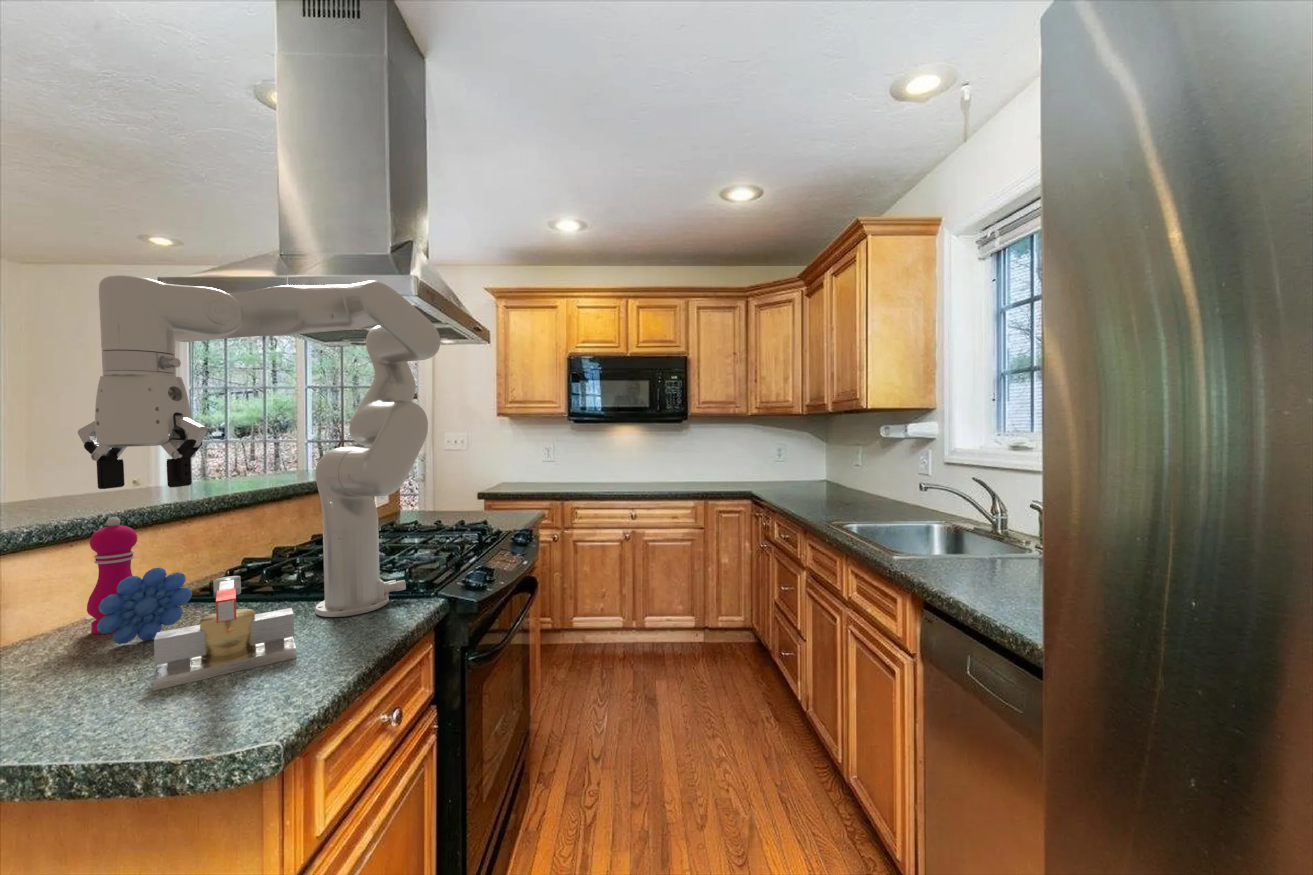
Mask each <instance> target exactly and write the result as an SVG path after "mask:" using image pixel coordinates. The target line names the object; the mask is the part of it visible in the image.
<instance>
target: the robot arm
mask: <svg viewBox="0 0 1313 875" xmlns="http://www.w3.org/2000/svg"><path fill="white" fill-rule="evenodd" d="M98 302H99V321H100V323H99V324H100V325H99V326H100V340H101V342H100V345H101V365H102V369H101V370H102V375H101V376H100V377H99V380H98V385H97V389H96V390H97V391H96V396H95V409H94V410H95V411H94V413H95V414H94V415H95V416H94V421H92V422H90V423H89V424H86V425H85V426H83V427H81V428H79V429H78V430H77V435H78V437H79V438H80V440H81V442H82V444H83V448H84V449H85V450H86V451H87V452H88V453H89V454H90V457H91V460H92V461H94V462H96V478H97V480H96V481H97V489H98V490H107V489H117V488H122V487H124V486H125V467H124V466H125V464H124V463H125V462H124V459H123V458H120V456H121V455H122V453H124V451H125V450H126V448H128V447H155V446H158V447H159V446H160V447H162V448H163V450H164V451H165V452H166V453H167V454H168V455H169V456H170V457H171V458H167V459H166V476H167V478H166V480H167V487H169V488H179V487H187V486H191V485H192V459H193V458H195V457H196V455H197V454H196V453H197V451H198V450H200V448H201V447H202V446H203V441H204V440H205V437H206V436H207V433H208V428H207V427H206V426H205V425H203V424H201V423H199V422H196V421H195V420H193V419H192V414H191V413H192V412H191V406H190V401H189V396H188V393H187V389H186V386H185V383H184V380H183V377H182V376H177V368H180V367H181V364H182V362H181V360H180V359H179V358H177V357H176V344H175V342H180V343H191V342H192V343H193V342H203V341H215V340H225V339H239V338H248V337H249V338H251V337H283V336H292V335H303V334H304V335H305V334H314V333H323V332H326V333H327V332H335V331H336V332H337V331H338V332H339V331H349V330H357V329H363V328H370V327H371V329H370V330H369V331H368V333H367V335H366V337H365V347H366V351H367V353H368V356H369V358H370V360H371V362H372V366H373V372H374V376H373V380H372V383H371V384H370V386H369V388H368V391H367V392H366V394H365V395H364V397H363V399H362V400H361V402H360V404H359V405H358V407H357V409H356V411H355V412H354V414H353V416H352V418H351V420H350V423H349V427H348V429H349V434H350V438H352V440H353V441H354V442H355V443H356V444H359V445H361V446H341V447H336V448H333V449H330V450H329V451H327V452H326V453H325V454H323V455H322V456H321V458H319V460H318V462H317V463H316V467H315V481H316V486H317V490H318V494H319V497H320V498H319V499H320V503H321V504H320V505H321V512H322V513H321V514H322V515H321V516H322V517H321V518H322V537H323V538H322V545H323V546H322V547H323V549H322V550H323V581H324V582H323V586H324V587H323V588H324V600H323V601H320V602H318V603H317V604H316V605H315V606H314V607H315V609H314V611H315V614H316V615H317V616H320V617H325V618H343V617H351V616H357V615H362V614H367V613H370V612H374V611H376V610H378V609H381V608H383V607H384V606H386V605H387V604H388V603H389V602H390V599H389V594H390V593H391V592H399V591H404V590H406V589H407V583H406V582H407V581H405V579H402V580H397V581H396V579H393V580H388V581H384V580H383V579H381V577H380V574H381V573H380V545H379V544H380V543H379V542H380V540H379V539H380V538H379V537H380V536H379V515H378V509H377V505H376V502H375V500H374V498H373V497H375V498H376V497H379V498H380V497H387V496H389V495H392V494H394V493H396V492H397V491H398V490H399V489H401V487H402V486H403V484H404V483H405V482H406V479H407V478H408V476H409V474H410V472H411V471H412V468H413V466H414V463H415V462H416V460H417V458H418V456H419V454H420V451H421V450H422V447H423V446H424V444H425V441H426V438H427V437H428V436H427V435H428V430H429V421H428V417H427V413H426V411H425V410H424V409H423V407H422V406H420V405H419V404H418V403H416V402H413V399H414V398H415V395H416V392H417V384H416V383H417V382H416V380H415V377H414V375H413V372H412V369H411V368H410V364H409V362H417V361H425V360H428V359H431V358H433V357H434V356H436V354H437V353H438V352H439V350H440V348H441V337H440V333H439V331H438V329H437V328H436V326H435V324H433V322H431V320H430V319H429V318H428V317H426V316H425V315H424V314H423V313H422V312H421V311H420V310H418V308H416V306H414V305H413V304H412V303H411V302H409V301H408V300H407V299H406V298H405V297H403V296H402V294H400V293H399V292H397V290H395V289H393V288H392V287H391V286H389V285H388V284H386V283H383V282H382V281H378V280H366V281H361V282H356V283H355V282H354V283H351V284H350V283H349V284H325V285H323V284H322V285H321V284H319V285H318V284H317V285H315V284H314V285H305V284H302V285H299V284H298V285H296V284H295V285H293V284H292V285H291V284H290V285H289V284H286V285H278V286H270V287H265V288H259V289H253V290H248V291H240V292H232V293H228V292H225V291H224V290H221V289H217V288H214V287H208V286H197V285H196V286H194V285H181V284H172V283H171V284H170V283H164V282H161V281H158V280H155V279H153V278H147V277H141V276H133V275H110V276H105V277H104V278H102V279H101V280H100V281H99V284H98Z"/></svg>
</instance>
